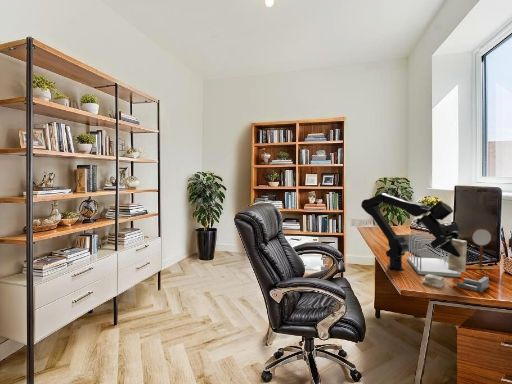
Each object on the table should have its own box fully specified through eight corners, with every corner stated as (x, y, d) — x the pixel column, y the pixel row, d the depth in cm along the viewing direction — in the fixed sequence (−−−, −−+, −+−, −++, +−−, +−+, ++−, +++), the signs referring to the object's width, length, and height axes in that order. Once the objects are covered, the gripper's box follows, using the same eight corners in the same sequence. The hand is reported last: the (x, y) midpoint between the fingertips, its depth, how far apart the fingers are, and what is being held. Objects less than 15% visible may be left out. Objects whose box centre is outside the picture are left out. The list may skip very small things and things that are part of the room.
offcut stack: (422, 283, 130) (422, 275, 129) (427, 281, 133) (427, 273, 133) (440, 288, 124) (440, 279, 124) (444, 285, 127) (445, 277, 127)
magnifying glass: (471, 268, 147) (472, 228, 146) (469, 267, 149) (470, 227, 147) (491, 269, 145) (492, 228, 144) (489, 268, 146) (491, 228, 145)
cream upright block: (448, 269, 129) (449, 239, 129) (452, 267, 132) (453, 238, 131) (461, 272, 125) (463, 242, 125) (465, 270, 128) (466, 240, 127)
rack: (456, 286, 125) (457, 277, 125) (464, 281, 131) (464, 272, 130) (481, 292, 118) (481, 282, 118) (488, 286, 124) (488, 277, 124)
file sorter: (461, 277, 135) (462, 243, 134) (418, 275, 140) (419, 242, 139) (442, 261, 160) (443, 232, 159) (406, 260, 164) (407, 231, 163)
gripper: (439, 217, 124) (470, 249, 117) (456, 213, 136) (485, 241, 128) (419, 233, 131) (446, 264, 123) (437, 227, 143) (463, 255, 135)
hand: (461, 255), depth 127 cm, fingers closed on cream upright block, 4 cm apart
